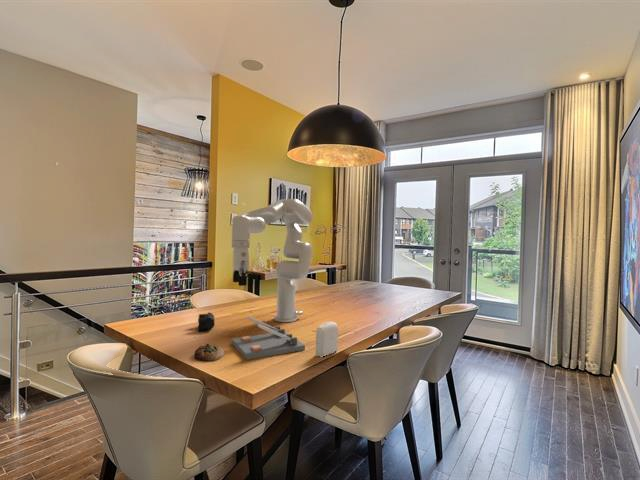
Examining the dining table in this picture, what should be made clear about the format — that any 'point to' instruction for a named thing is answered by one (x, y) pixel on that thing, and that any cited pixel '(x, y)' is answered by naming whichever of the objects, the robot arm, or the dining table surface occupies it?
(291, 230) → the robot arm
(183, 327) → the dining table surface
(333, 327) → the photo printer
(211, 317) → the end cap
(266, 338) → the clamp board
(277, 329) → the strap
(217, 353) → the bread roll
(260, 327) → the strap
